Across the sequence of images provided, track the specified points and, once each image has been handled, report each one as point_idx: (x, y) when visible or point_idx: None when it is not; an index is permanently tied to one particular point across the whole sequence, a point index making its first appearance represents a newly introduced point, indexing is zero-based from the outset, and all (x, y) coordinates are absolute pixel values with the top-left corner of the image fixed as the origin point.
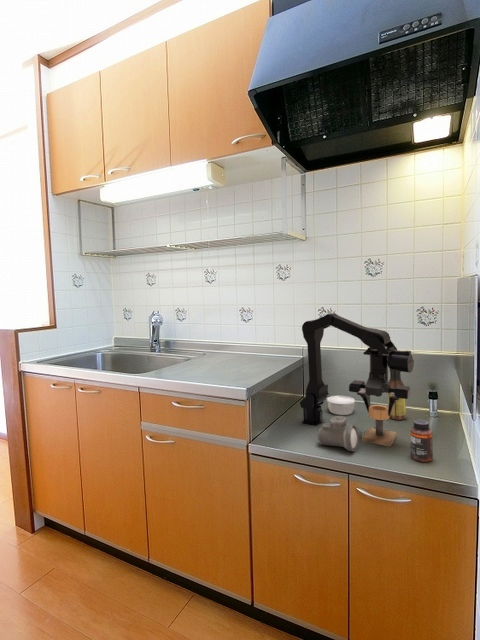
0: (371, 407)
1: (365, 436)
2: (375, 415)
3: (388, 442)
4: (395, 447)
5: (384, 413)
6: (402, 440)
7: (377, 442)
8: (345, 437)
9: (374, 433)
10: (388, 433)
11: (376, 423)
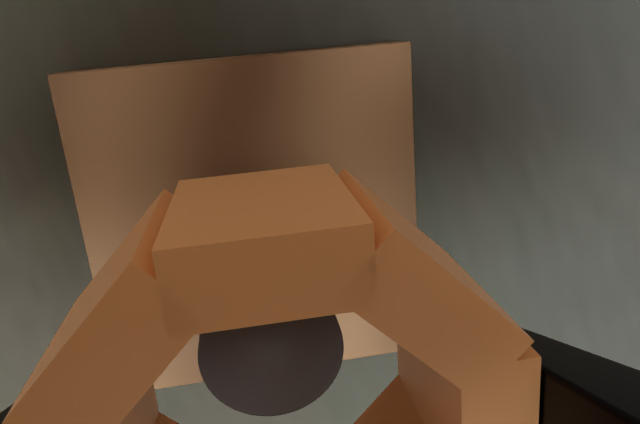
0: (479, 403)
1: (377, 70)
2: (290, 193)
3: (75, 72)
4: (10, 87)
5: (82, 313)
6: (33, 314)
7: (217, 58)
8: None
9: None
10: None
11: None
